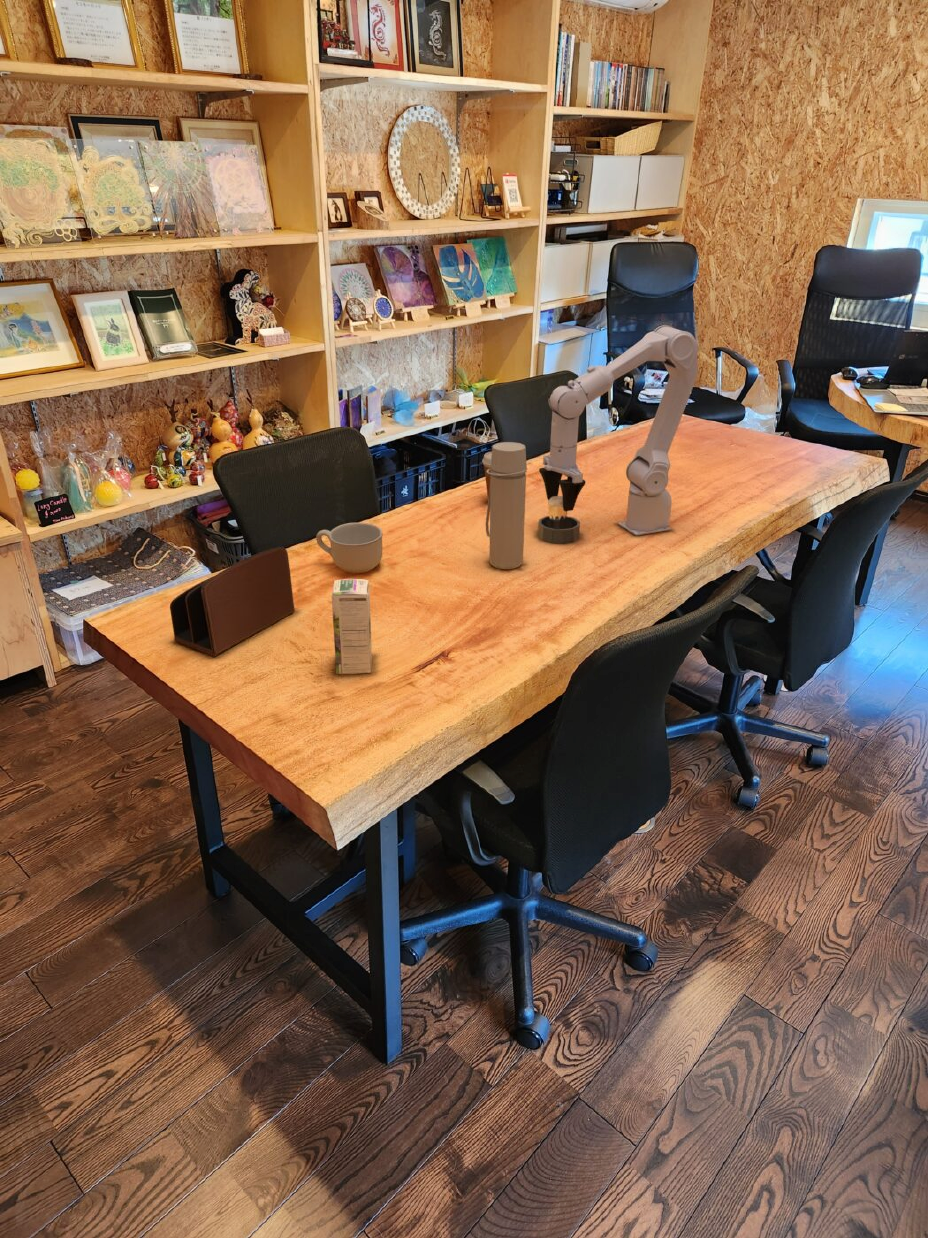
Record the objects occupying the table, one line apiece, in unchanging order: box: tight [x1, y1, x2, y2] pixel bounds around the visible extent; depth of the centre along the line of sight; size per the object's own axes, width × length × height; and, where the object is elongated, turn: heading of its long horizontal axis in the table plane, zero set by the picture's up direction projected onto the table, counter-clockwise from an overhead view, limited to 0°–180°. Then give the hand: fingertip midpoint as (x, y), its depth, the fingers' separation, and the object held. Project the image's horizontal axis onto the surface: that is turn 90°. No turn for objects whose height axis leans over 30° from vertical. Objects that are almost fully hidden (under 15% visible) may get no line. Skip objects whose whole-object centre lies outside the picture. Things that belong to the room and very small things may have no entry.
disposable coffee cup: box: [482, 451, 492, 499], centre depth 203 cm, size 10×10×12 cm
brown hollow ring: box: [537, 515, 581, 545], centre depth 186 cm, size 9×9×3 cm
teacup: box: [315, 522, 383, 575], centre depth 170 cm, size 14×11×8 cm
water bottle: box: [485, 441, 528, 570], centre depth 167 cm, size 9×8×25 cm
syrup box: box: [331, 578, 373, 675], centre depth 133 cm, size 6×6×14 cm
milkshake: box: [547, 495, 568, 529], centre depth 184 cm, size 4×5×10 cm
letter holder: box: [169, 546, 296, 657], centre depth 145 cm, size 10×20×14 cm, turn 148°
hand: (560, 504), depth 183 cm, fingers open, 7 cm apart
